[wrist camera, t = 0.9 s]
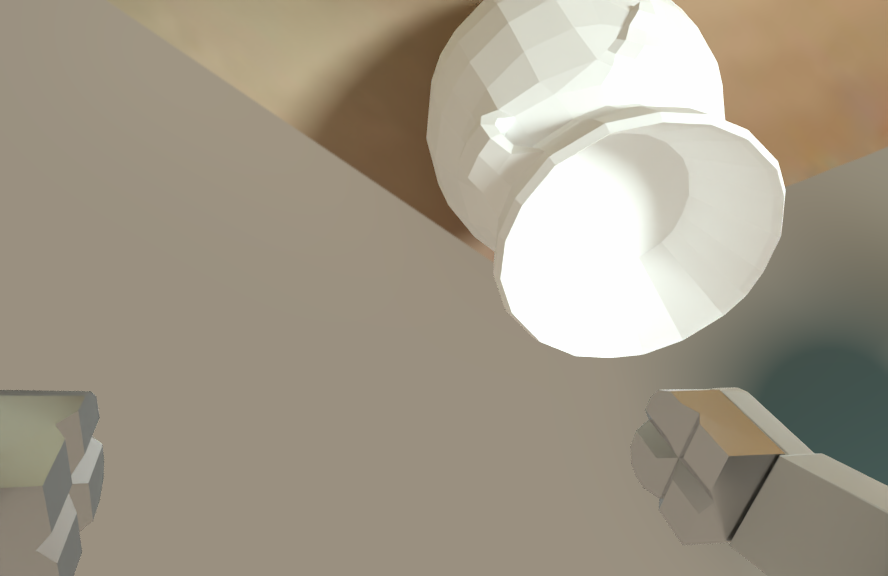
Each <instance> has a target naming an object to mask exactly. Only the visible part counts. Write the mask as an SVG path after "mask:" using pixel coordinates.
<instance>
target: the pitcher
mask: <svg viewBox="0 0 888 576" xmlns="http://www.w3.org/2000/svg"><path fill="white" fill-rule="evenodd" d="M426 139H427V143H428V147H429V151H430V154H431V158H432V162H433V166H434V170H435V173H436V177H437V181H438V185H439V187H440V189H441V191H442V193H443V195H444V197H445V199H446V201H447V204H448V205H449V207H450V208H451V209H452V210H453V211H454V213H455V214H456V215H457V216H458V217H459V219H460V220H461V221H462V222H463V224H464V225H465V226H466V227H467V228H468V230H469V231H470V232H471V233H472V234H473V236H474V237H475V238H477V239H478V240H479V241H481V242H482V243H483V244H485V245H486V246H487V247H489V248H490V249H492V250H493V251H494V252H495V254H494V269H493V276H494V279H495V281H496V284H497V287H498V290H499V293H500V296H501V298H502V301H503V304H504V307H505V310H506V311H507V312H508V313H509V314H510V315H511V316H512V317H513V318H514V319H515V320H516V321H517V322H518V323H519V324H520V325H521V326H522V327H523V328H524V329H525V330H526V331H527V332H528V333H529V334H530V335H531V336H532V337H533V338H534V339H535V340H537V341H540V342H542V343H545V344H547V345H550V346H552V347H555V348H557V349H560V350H562V351H564V352H567V353H570V354H572V355H575V356H585V357H603V358H615V357H624V356H634V355H643V354H646V353H649V352H651V351H654V350H657V349H660V348H663V347H665V346H668V345H671V344H674V343H677V342H679V341H682V340H684V339H686V338H687V337H689V336H691V335H692V334H694V333H696V332H697V331H699V330H701V329H702V328H704V327H706V326H707V325H709V324H711V323H712V322H714V321H715V320H717V319H719V318H720V317H722V316H724V315H725V314H726V313H727V312H728V311H729V310H730V309H732V308H733V307H734V306H735V305H736V304H737V303H738V302H739V301H741V300H742V299H743V298H744V297H745V296H746V295H747V294H748V292H749V291H750V290H751V288H752V287H753V286H754V284H755V283H756V281H757V280H758V279H759V277H760V276H761V275H762V273H763V272H764V270H765V268H766V265H767V264H768V262H769V259H770V257H771V256H772V253H773V251H774V249H775V247H776V245H777V243H778V241H779V239H780V237H781V231H782V221H783V211H784V202H785V192H786V190H785V186H784V182H783V179H782V175H781V171H780V168H779V164H778V161H777V160H776V159H775V158H774V157H773V156H772V155H771V154H770V153H769V152H768V150H767V149H766V148H765V147H764V146H763V145H762V144H761V143H760V142H759V141H758V140H757V139H756V138H755V137H754V136H753V135H752V134H751V133H750V132H749V131H748V130H747V129H744V128H742V127H740V126H737V125H735V124H732V123H730V122H728V121H725V114H724V101H723V88H722V81H721V76H720V72H719V67H718V63H717V61H716V59H715V57H714V56H713V54H712V52H711V50H710V49H709V47H708V45H707V43H706V41H705V40H704V38H703V36H702V34H701V33H700V31H699V29H698V27H697V26H696V25H695V24H694V23H693V21H692V20H691V19H690V18H689V17H688V16H687V15H686V14H685V12H684V11H683V10H682V9H681V8H680V7H679V6H677V5H676V4H675V3H674V2H673V1H671V0H483V1H482V2H481V3H480V4H479V6H478V7H477V8H476V9H475V10H474V11H473V12H472V13H471V14H470V15H469V16H468V17H467V18H466V19H465V20H464V21H463V22H462V23H461V24H460V26H459V27H458V28H457V29H456V30H455V31H454V33H453V34H452V36H451V38H450V39H449V41H448V43H447V44H446V46H445V48H444V49H443V51H442V53H441V54H440V57H439V60H438V63H437V66H436V69H435V72H434V75H433V78H432V80H431V91H430V102H429V113H428V125H427V136H426Z"/></svg>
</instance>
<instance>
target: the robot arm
mask: <svg viewBox="0 0 888 576" xmlns="http://www.w3.org/2000/svg"><path fill="white" fill-rule="evenodd" d="M645 411H646V414H647V417H648V419H649V420H648V421H647V422H646V423H644V424H643V425H642V426H641V427H640V428H639V429H638V430H636V433H635V435H634V438H633V441H632V444H631V464H632V467H633V470H634V472H635V475H636V477H637V479H638V480H639V482H640V483H641V485H642V486H643V488H644V489H646V490H647V491H649V492H650V493H652V494H653V495H655V496H656V497H658V498H659V511H660V513H661V514H662V516H663V517H664V518H665V520H666V521H667V523H668V524H669V526H670V527H671V529H672V530H673V532H674V533H675V535H676V536H677V537H678V539H679V540H680V542H681V543H682V545H693V544H694V545H695V544H711V543H728V542H730V544H729V545H730V546H731V547H732V548H733V549H735V550H736V551H737V552H738V553H739V554H741V555H742V556H743V557H745V558H746V559H747V560H748V561H750V562H751V563H752V564H753V565H755V566H756V567H757V568H758V569H760V570H761V571H762V572H763V573H765V574H766V575H767V576H888V486H886V485H884V484H882V483H880V482H878V481H876V480H874V479H872V478H870V477H868V476H866V475H864V474H862V473H860V472H858V471H856V470H854V469H852V468H850V467H848V466H846V465H844V464H842V463H840V462H838V461H836V460H834V459H832V458H830V457H828V456H826V455H824V454H814V453H813V452H812V451H811V450H810V449H809V448H808V447H807V446H806V445H805V444H804V443H802V442H801V441H800V440H799V439H798V438H797V437H796V436H795V435H794V434H793V433H792V432H790V431H789V430H788V429H787V428H786V427H785V426H784V425H783V424H782V423H781V422H780V421H779V420H777V419H776V418H775V417H774V416H773V415H772V414H771V413H770V412H769V411H768V410H767V409H766V408H764V407H763V406H762V405H761V404H760V403H759V402H758V401H757V400H756V399H755V398H754V397H752V396H751V395H750V394H749V393H748V392H746V391H744V390H742V389H739V388H737V387H736V388H711V389H688V390H657V391H656V392H655V393H654V394H653V395H652V396H651V397H650V399H649V401H648V404H647V406H646V408H645ZM98 420H99V412H98V405H97V398H96V396H95V395H94V394H93V393H92V392H91V391H89V392H88V391H87V392H85V391H29V390H27V391H26V390H0V576H74V574H75V571H76V568H77V565H78V562H79V560H80V557H81V554H82V547H81V540H80V533H79V532H80V531H81V530H83V529H84V528H85V527H86V526H87V525H89V524H90V523H91V522H92V521H93V519H94V516H95V513H96V510H97V507H98V504H99V501H100V496H101V490H102V484H103V479H104V455H103V445H102V444H101V443H100V442H99V441H97V440H96V439H95V438H94V437H93V436H92V435H93V433H94V430H95V428H96V425H97V423H98Z"/></svg>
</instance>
